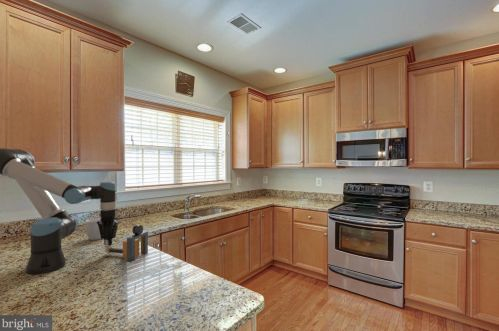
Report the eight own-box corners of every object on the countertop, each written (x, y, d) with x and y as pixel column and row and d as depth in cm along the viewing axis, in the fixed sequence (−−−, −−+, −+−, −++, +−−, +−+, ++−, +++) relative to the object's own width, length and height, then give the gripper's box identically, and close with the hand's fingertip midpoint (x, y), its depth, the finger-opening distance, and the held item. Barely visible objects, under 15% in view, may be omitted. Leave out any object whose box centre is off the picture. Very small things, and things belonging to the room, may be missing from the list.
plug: (105, 256, 136) (105, 240, 136) (113, 252, 142) (113, 237, 142) (132, 258, 133) (132, 242, 133) (139, 254, 139) (139, 238, 139)
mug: (109, 234, 178) (109, 216, 178) (112, 238, 170) (112, 219, 169) (85, 238, 169) (85, 219, 169) (86, 242, 160) (87, 222, 160)
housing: (131, 262, 128) (131, 228, 128) (126, 261, 129) (126, 228, 129) (147, 252, 142) (147, 222, 142) (143, 252, 143) (143, 222, 143)
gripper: (122, 208, 141) (123, 249, 142) (103, 207, 144) (103, 247, 144) (113, 210, 134) (113, 253, 134) (92, 210, 136) (92, 252, 137)
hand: (108, 250), depth 139 cm, fingers closed
